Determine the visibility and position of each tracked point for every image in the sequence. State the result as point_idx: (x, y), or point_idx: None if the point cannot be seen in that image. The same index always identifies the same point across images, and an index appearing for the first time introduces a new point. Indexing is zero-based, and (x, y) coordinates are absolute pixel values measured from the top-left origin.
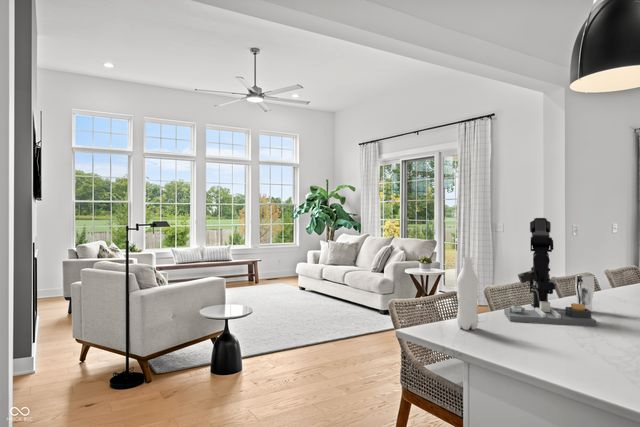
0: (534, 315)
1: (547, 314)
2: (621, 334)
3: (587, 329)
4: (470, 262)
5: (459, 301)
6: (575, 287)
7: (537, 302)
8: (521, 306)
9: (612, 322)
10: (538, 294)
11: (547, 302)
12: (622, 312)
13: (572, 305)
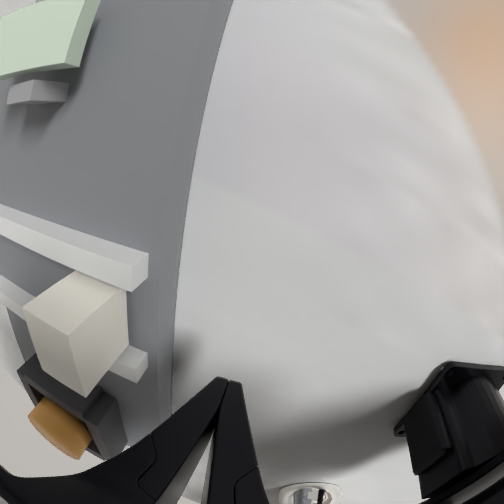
0: (10, 163)
1: (44, 271)
2: (5, 360)
3: (2, 316)
4: None
5: None
6: None
7: (455, 408)
8: None
9: (123, 450)
10: (131, 447)
11: (44, 361)
12: None
13: (36, 414)
